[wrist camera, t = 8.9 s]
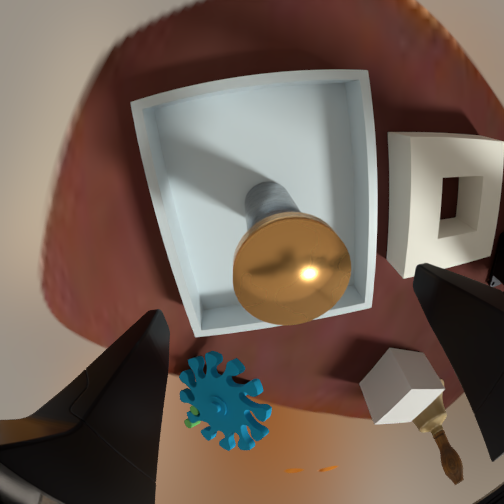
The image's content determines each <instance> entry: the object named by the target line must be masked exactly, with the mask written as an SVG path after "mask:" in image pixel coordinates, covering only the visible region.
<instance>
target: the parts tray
mask: <svg viewBox="0 0 504 504" xmlns="http://www.w3.org/2000/svg"><path fill="white" fill-rule="evenodd" d="M130 103H131V109H132V114H133V119H134V125H135V130H136V134H137V139H138V144H139V149H140V153H141V158H142V162H143V166H144V170H145V175H146V179H147V183H148V187H149V191H150V195H151V199H152V202H153V206H154V210H155V214H156V217H157V221H158V224H159V228H160V231H161V235H162V238H163V242H164V245H165V249H166V252H167V255H168V258H169V262H170V265H171V268H172V271H173V274H174V277H175V280H176V283H177V286H178V289H179V292H180V295H181V298H182V301H183V304H184V307H185V310H186V313H187V316H188V318H189V321H190V324H191V327H192V329H193V332H194V335H195V337H203V336H212V335H220V334H228V333H235V332H243V331H250V330H256V329H263V328H269V327H276V326H282V325H276V324H271V323H267V322H264V321H262V320H259V319H257V318H256V317H254V316H252V315H251V314H250V313H248V312H247V311H246V310H245V309H244V308H243V307H242V305H241V304H240V302H239V301H238V299H237V297H236V295H235V291H234V288H233V258H234V253H235V250H236V247H237V245H238V243H239V241H240V240H241V238H242V237H243V235H244V234H245V233H246V232H247V225H246V215H245V198H246V195H247V193H248V192H249V190H250V189H251V188H252V187H254V186H255V185H257V184H259V183H261V182H268V181H269V182H275V183H278V184H280V185H282V186H283V187H284V188H285V189H286V190H287V191H288V193H289V194H290V196H291V197H292V199H293V200H294V202H295V203H296V205H297V207H298V208H299V210H300V211H301V212H302V213H307V214H311V215H314V216H316V217H318V218H320V219H322V220H323V221H325V222H326V223H327V224H328V225H329V226H330V227H331V228H332V229H333V230H334V231H335V233H336V234H337V235H338V236H339V238H340V239H341V240H342V241H343V243H344V244H345V246H346V248H347V250H348V253H349V255H350V260H351V276H350V280H349V283H348V286H347V288H346V290H345V292H344V294H343V295H342V297H341V298H340V300H339V301H338V302H337V303H336V304H335V305H334V306H333V307H332V308H331V309H330V310H328V311H327V312H326V313H324V314H323V315H321V316H319V317H318V318H315V319H320V318H326V317H331V316H335V315H340V314H345V313H350V312H354V311H359V310H363V309H368V308H371V307H372V298H373V288H374V276H375V262H376V244H377V207H378V194H377V157H376V140H375V127H374V116H373V106H372V97H371V89H370V82H369V75H368V70H344V69H331V70H301V71H286V72H275V73H265V74H256V75H248V76H241V77H235V78H228V79H222V80H217V81H211V82H206V83H201V84H197V85H192V86H187V87H183V88H179V89H175V90H171V91H167V92H163V93H159V94H156V95H152V96H149V97H145V98H142V99H139V100H135V101H132V102H130ZM315 319H313V320H315Z"/></svg>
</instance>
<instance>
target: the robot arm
mask: <svg viewBox="0 0 504 504" xmlns="http://www.w3.org/2000/svg"><path fill="white" fill-rule="evenodd" d="M499 284H503V285H504V233H502V234H501V236H500V238H499V243H498V248H497V252H496V257H495V261H494V265H493V269H492V272H491V276H490V280H489V283H488V285H489V286H488V285H486V284H483V283H480V282H478V281H475V280H472V279H470V278H467V277H465V276H462V275H459V274H456V273H454V272H451V271H448V270H446V269H443V268H440V267H437V266H434V265H432V264H429V263H423V264H418V265H417V266H416V269H415V275H414V281H413V289H414V292H415V294H416V296H417V298H418V300H419V302H420V304H421V306H422V309H423V311H424V313H425V315H426V318H427V320H428V322H429V324H430V326H431V327H432V329H433V331H434V333H435V335H436V336H437V338H438V340H439V342H440V344H441V346H442V347H443V349H444V351H445V353H446V355H447V357H448V359H449V361H450V363H451V365H452V367H453V369H454V371H455V373H456V375H457V377H458V379H459V381H460V383H461V385H462V388H463V390H464V392H465V394H466V396H467V399H468V401H469V403H470V405H471V408H472V410H473V412H474V414H475V417H476V420H477V422H478V425H479V428H480V430H481V433H482V435H483V438H484V441H485V443H486V446H487V449H488V452H489V455H490V458H491V460H492V462H493V461H495V460H496V459H498V458H499V457H500V456H502V455H503V454H504V292H502V291H501V290H498V289H496V288H493V287H494V286H497V285H499ZM169 339H170V331H169V327H168V325H167V322H166V320H165V317H164V315H163V313H162V311H161V310H160V309H157V310H149V311H148V312H147V313H146V314H145V315H143V316H142V317H141V318H140V319H139V320H138V321H137V322H136V323H135V324H134V325H132V326H131V327H130V328H129V329H128V330H127V331H126V332H125V333H124V334H123V335H122V336H120V337H119V338H118V339H117V340H116V341H115V342H114V343H113V344H112V345H111V346H110V347H109V348H107V349H106V350H105V351H104V352H103V353H102V354H101V355H100V356H99V357H98V358H97V359H96V360H95V361H94V362H93V363H91V364H90V365H89V366H88V367H87V368H86V370H84V371H83V372H82V373H81V374H80V375H79V376H78V377H77V378H75V379H74V380H73V381H72V382H71V383H70V384H69V385H68V386H66V387H65V388H64V389H63V390H62V391H60V392H59V393H58V394H57V395H56V396H54V397H53V398H52V399H51V400H49V401H48V402H47V403H46V404H45V405H43V406H42V407H41V408H40V409H39V410H37V411H36V412H35V413H33V414H32V415H30V416H28V417H26V418H22V419H16V420H15V419H14V420H0V504H155V490H156V483H155V482H156V474H157V462H158V450H159V441H160V432H161V423H162V415H163V407H164V398H165V391H166V384H167V377H168V367H169ZM473 504H504V482H503V483H502V484H500V485H499V486H498V487H496V488H495V489H494V490H492V491H491V492H489V493H488V494H486V495H485V496H484V497H482V498H481V499H479V500H478V501H476V502H474V503H473Z"/></svg>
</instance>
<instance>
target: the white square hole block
mask: <svg viewBox="0 0 504 504" xmlns="http://www.w3.org/2000/svg"><path fill="white" fill-rule="evenodd" d="M387 133H388V151H389V226H388V245H387V258H386V259H387V261H388V262H389V263H390V264H391V265H392V266H393V267H394V268H395V270H396V271H397V272H398V273H399V274H400V275H401V276H402V278H403V279H404V278H409V277H413V276H414V275H415V269H416V266H417V265H418V264H423V263H429V264H432V265H434V266H437V267H440V268H443V269H445V268H449V267H453V266H456V265H460V264H464V263H467V262H471V261H475V260H478V259H482V258H485V257H489V256H490V255H491V251H492V246H493V241H494V236H495V231H496V225H497V219H498V213H499V205H500V197H501V188H502V176H503V158H504V142H503V141H500V140H496V139H492V138H488V137H484V136H480V135H469V134H455V133H435V132H387ZM448 177H459V187H458V200H457V211H456V217H455V218H448V219H442V220H440V212H441V199H442V181H443V178H448Z"/></svg>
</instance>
